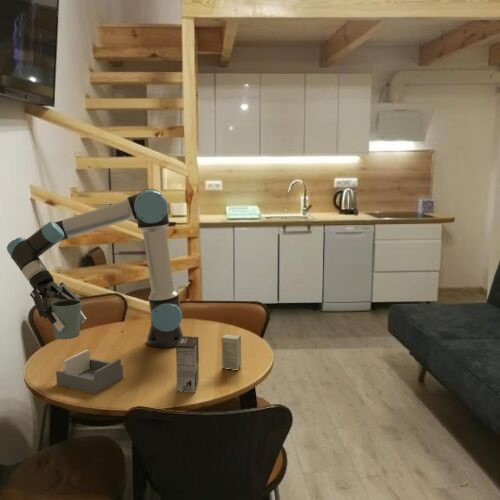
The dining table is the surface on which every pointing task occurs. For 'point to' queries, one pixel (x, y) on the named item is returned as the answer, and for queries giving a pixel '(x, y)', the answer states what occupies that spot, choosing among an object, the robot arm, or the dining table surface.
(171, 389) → the dining table surface
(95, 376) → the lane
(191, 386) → the coffee box
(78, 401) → the dining table surface
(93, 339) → the dining table surface
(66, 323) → the grey-green cup
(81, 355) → the pusher
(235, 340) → the skincare box
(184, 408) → the dining table surface
